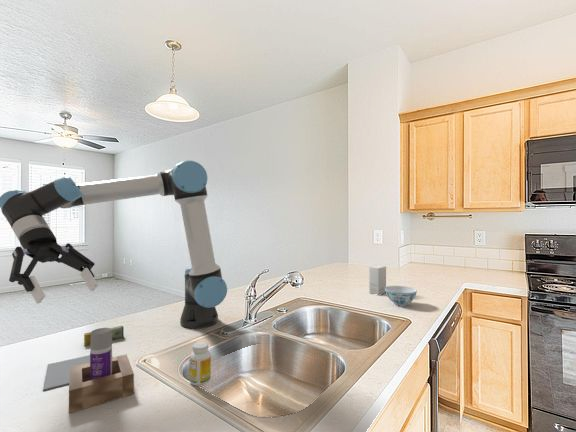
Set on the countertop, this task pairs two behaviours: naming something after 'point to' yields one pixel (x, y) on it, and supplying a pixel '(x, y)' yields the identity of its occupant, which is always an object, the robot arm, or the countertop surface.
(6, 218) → the robot arm
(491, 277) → the countertop surface
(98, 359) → the container
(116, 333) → the medication box
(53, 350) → the countertop surface
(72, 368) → the walnut box
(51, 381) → the grey mat
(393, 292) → the chinaware
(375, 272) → the skincare box
